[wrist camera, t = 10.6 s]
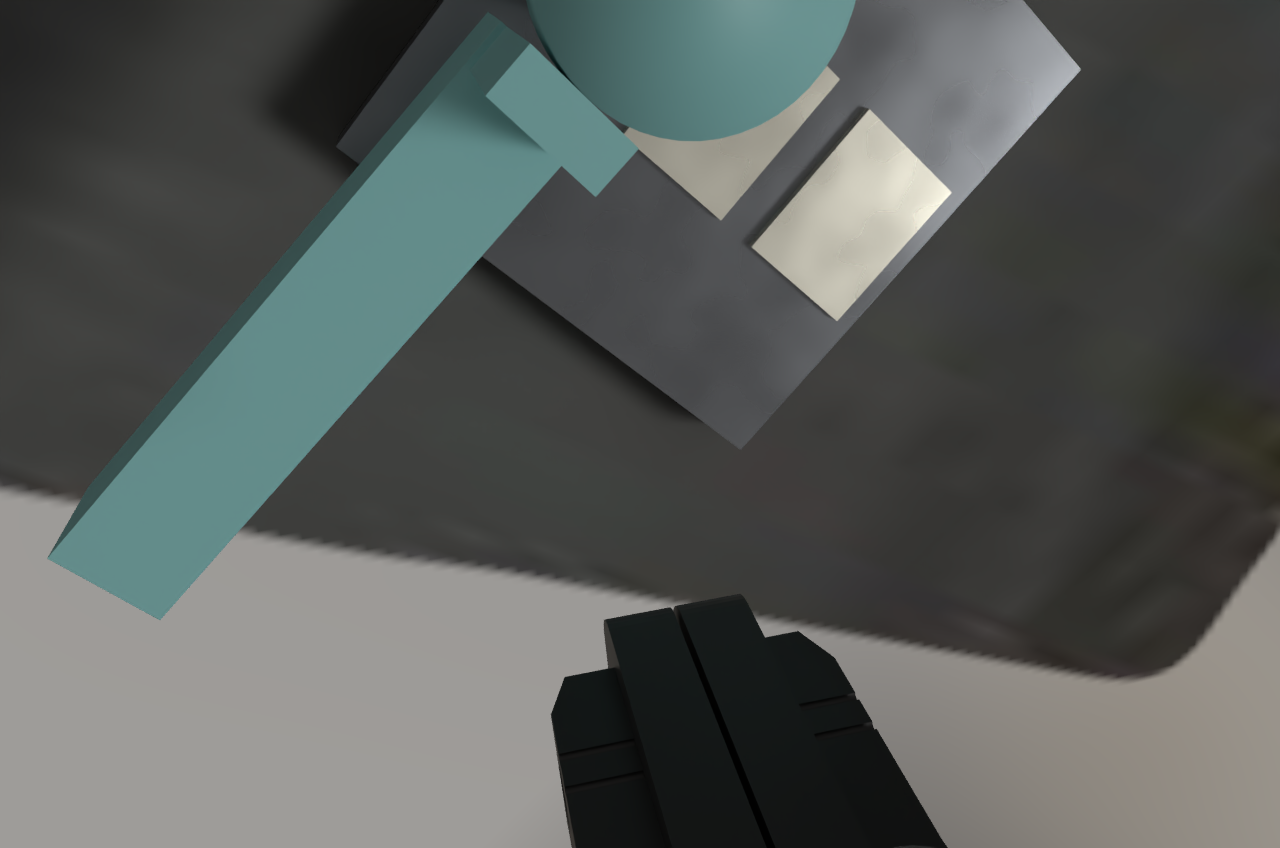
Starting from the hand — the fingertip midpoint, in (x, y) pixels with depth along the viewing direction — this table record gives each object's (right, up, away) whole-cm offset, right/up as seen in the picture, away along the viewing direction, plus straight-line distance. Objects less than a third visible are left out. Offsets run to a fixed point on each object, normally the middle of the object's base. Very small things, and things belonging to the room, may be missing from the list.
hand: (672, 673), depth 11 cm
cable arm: (-5, +6, +7) cm, 10 cm away
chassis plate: (+1, +10, +13) cm, 17 cm away
